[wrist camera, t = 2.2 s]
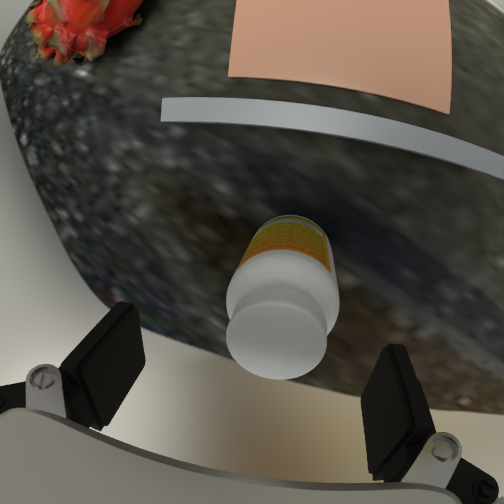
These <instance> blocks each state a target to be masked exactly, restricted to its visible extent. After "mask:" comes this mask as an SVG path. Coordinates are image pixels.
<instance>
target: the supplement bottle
mask: <svg viewBox="0 0 504 504" xmlns="http://www.w3.org/2000/svg"><path fill="white" fill-rule="evenodd" d="M226 307H227V312H228V316H229V319H230V322H229V325H228V327H227V332H226V342H227V346H228V349H229V351H230V353H231V355H232V357H233V358H234V359H235V360H236V362H237V363H238V364H239V365H240V366H242V367H243V368H244V369H246V370H248V371H249V372H251V373H253V374H256V375H258V376H261V377H264V378H269V379H278V380H282V379H291V378H296V377H299V376H301V375H304V374H306V373H308V372H309V371H311V370H312V369H313V368H315V367H316V366H317V365H318V364H319V362H320V361H321V360H322V358H323V356H324V354H325V351H326V347H327V335H328V334H329V333H330V331H331V330H332V328H333V326H334V324H335V322H336V320H337V317H338V312H339V291H338V285H337V278H336V272H335V266H334V260H333V254H332V249H331V246H330V242H329V240H328V237H327V236H326V234H325V233H324V231H323V230H322V229H321V228H320V227H319V226H318V225H317V224H316V223H314V222H313V221H311V220H309V219H307V218H305V217H302V216H298V215H283V216H278V217H275V218H273V219H271V220H269V221H267V222H266V223H264V224H263V225H262V226H261V227H260V228H259V229H258V231H257V232H256V233H255V235H254V237H253V238H252V240H251V242H250V244H249V246H248V248H247V250H246V252H245V254H244V256H243V258H242V260H241V262H240V264H239V266H238V268H237V269H236V271H235V273H234V275H233V277H232V279H231V282H230V284H229V287H228V291H227V297H226Z"/></svg>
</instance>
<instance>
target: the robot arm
mask: <svg viewBox="0 0 504 504" xmlns="http://www.w3.org/2000/svg"><path fill="white" fill-rule="evenodd" d="M144 366H145V354H144V347H143V341H142V335H141V328H140V321H139V313H138V310H137V309H136V308H135V306H134V305H133V304H130V303H126V302H122V301H119V302H118V303H117V304H116V305H115V306H114V307H113V308H112V309H111V310H110V311H109V312H108V313H107V314H106V315H105V316H104V317H103V318H102V320H101V321H100V322H99V323H98V324H97V325H96V326H95V327H94V328H93V329H92V330H91V331H90V332H89V334H88V335H87V336H86V337H85V338H84V339H83V340H82V341H81V342H80V343H79V344H78V345H77V346H76V347H75V349H74V350H73V351H72V352H71V353H70V354H69V355H68V356H67V357H66V359H65V360H64V361H63V362H62V363H61V366H60V367H59V368H57V367H55V366H54V365H50V364H42V365H38V366H36V367H34V368H33V369H31V370H30V371H29V373H28V375H27V377H26V381H25V382H20V383H15V384H10V385H4V386H0V504H504V498H503V497H501V498H499V497H498V493H499V487H498V484H497V482H496V480H495V479H494V478H493V477H492V476H490V475H489V474H487V473H485V472H483V471H482V470H481V469H479V468H477V467H476V466H474V465H472V464H471V463H469V462H468V461H466V460H465V459H463V458H461V454H462V447H461V444H460V442H459V441H458V439H457V438H456V437H455V436H453V435H451V434H449V433H446V432H438V433H436V430H435V426H434V423H433V420H432V417H431V413H430V410H429V407H428V404H427V401H426V398H425V395H424V392H423V389H422V386H421V383H420V381H419V380H418V379H417V377H416V375H415V372H414V369H413V366H412V364H411V361H410V358H409V356H408V353H407V350H406V348H405V346H404V345H403V344H389V345H388V346H387V347H384V348H383V349H382V351H381V354H380V356H379V359H378V361H377V363H376V365H375V368H374V370H373V372H372V374H371V376H370V379H369V381H368V383H367V385H366V387H365V389H364V391H363V393H362V396H361V409H362V417H363V425H364V433H365V441H366V452H367V462H368V471H369V473H371V474H372V475H373V481H377V480H384V483H316V482H300V481H288V480H278V479H269V478H262V477H255V476H248V475H243V474H237V473H231V472H226V471H221V470H216V469H211V468H207V467H203V466H199V465H195V464H191V463H187V462H183V461H179V460H176V459H172V458H169V457H166V456H162V455H159V454H156V453H153V452H149V451H147V450H143V449H141V448H138V447H135V446H132V445H129V444H127V443H124V442H121V441H119V440H116V439H114V438H111V437H108V436H106V435H103V434H101V433H99V432H96V431H94V430H92V429H89V427H92V428H94V429H96V430H99V431H101V430H102V429H103V427H104V426H107V425H109V423H110V422H111V420H112V418H113V417H114V415H115V414H116V412H117V410H118V409H119V407H120V405H121V404H122V402H123V400H124V399H125V397H126V395H127V394H128V392H129V391H130V389H131V387H132V386H133V384H134V382H135V380H136V379H137V378H138V376H139V374H140V373H141V371H142V370H143V368H144Z"/></svg>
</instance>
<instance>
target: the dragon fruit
mask: <svg viewBox="0 0 504 504" xmlns="http://www.w3.org/2000/svg"><path fill="white" fill-rule="evenodd" d="M142 2H143V0H40V1H38V2H35V3H33V4H31V5H30V6H29V8H31V9H33V10H31V11H30V12H29V13H28V15H27V17H26V24H29V26H28V28H30V29H32V32H31V36H30V39H31V40H32V41H33V42H32V44H33V46H34V49H35V53H36V58H40V59H41V60H44V61H49V60H51V59H52V58H53V57H54V58H55V59H54V61H53V63H52V65H50V66H53V67H52V68H54V67H57V66H63V65H65V64H66V63H67V62H68V61H69V60H70V59H71V57H72V56H73V54H74V53H75V52H77V53H79V54H81V55H83V57H82V58H77V57H76V58H73V60H75V62H76V64H78V65H80V66H83V65H84V64H85V63H86V62H87V61H88V60H90V61H91V62H92V61H94V60H95V59H96V58H97V57H98V56H100V55H102V54H104V50H105V44H106V39H108V38H110V37H111V36H113V35H115V34H117V33H118V32H120V31H122V30H123V29H125V28H127V27H130V26H134V25H135V26H138V25H140V24H141V22H142V18H141V17H140V15H139V13H138V14H137V15H135V16H133V14H134V12H135V11H136V10H137V8H138V7H139V6H140V5H141V3H142Z"/></svg>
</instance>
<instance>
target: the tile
mask: <svg viewBox="0 0 504 504" xmlns="http://www.w3.org/2000/svg"><path fill="white" fill-rule="evenodd" d="M228 77H229V78H247V79H265V80H278V81H289V82H298V83H307V84H315V85H322V86H329V87H335V88H341V89H347V90H352V91H357V92H362V93H367V94H372V95H377V96H381V97H385V98H389V99H394V100H397V101H401V102H405V103H409V104H412V105H416V106H420V107H423V108H426V109H430V110H433V111H436V112H439V113H442V114H445V115H449V114H450V100H451V77H452V46H451V24H450V12H449V2H448V0H237V2H236V10H235V18H234V26H233V35H232V43H231V52H230V62H229V71H228Z"/></svg>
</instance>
